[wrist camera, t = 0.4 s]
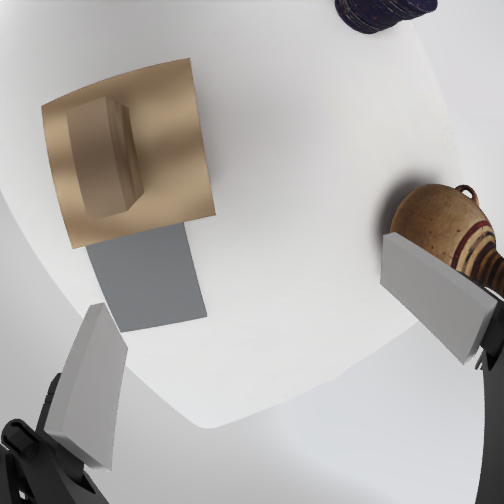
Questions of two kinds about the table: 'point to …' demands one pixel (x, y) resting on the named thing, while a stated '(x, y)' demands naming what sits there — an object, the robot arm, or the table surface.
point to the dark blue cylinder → (381, 12)
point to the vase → (452, 232)
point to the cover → (128, 154)
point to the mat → (148, 278)
